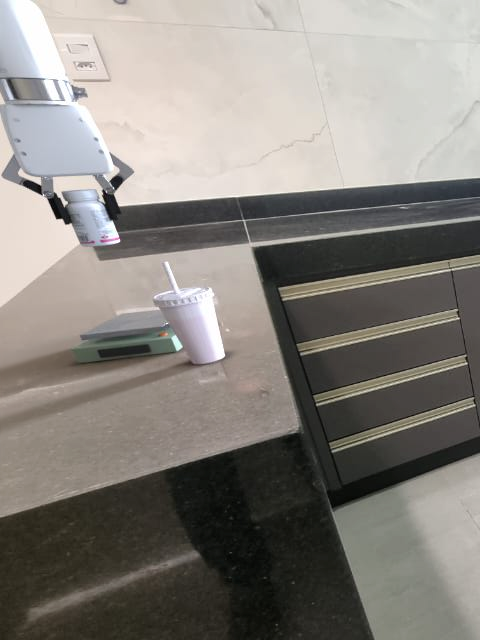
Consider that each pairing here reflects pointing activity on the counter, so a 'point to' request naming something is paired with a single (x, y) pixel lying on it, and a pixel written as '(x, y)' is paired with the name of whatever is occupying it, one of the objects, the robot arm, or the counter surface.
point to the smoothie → (192, 320)
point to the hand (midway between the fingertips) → (91, 220)
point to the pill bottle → (90, 218)
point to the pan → (129, 325)
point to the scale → (127, 346)
